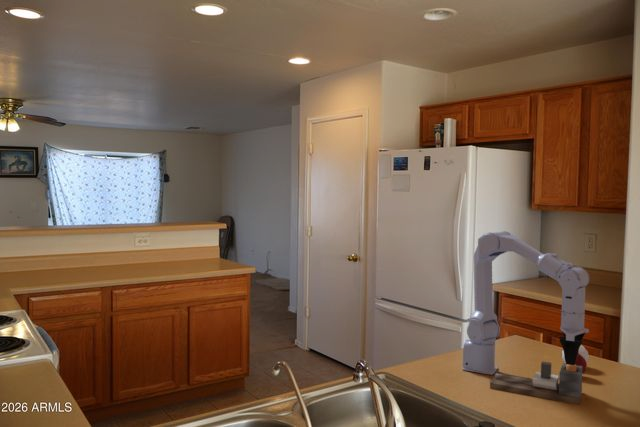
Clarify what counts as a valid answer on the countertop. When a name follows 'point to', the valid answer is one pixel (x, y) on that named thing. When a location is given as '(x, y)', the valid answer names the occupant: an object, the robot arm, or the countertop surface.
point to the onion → (581, 362)
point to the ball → (581, 351)
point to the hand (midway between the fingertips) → (571, 360)
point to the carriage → (545, 377)
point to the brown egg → (571, 367)
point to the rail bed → (565, 392)
